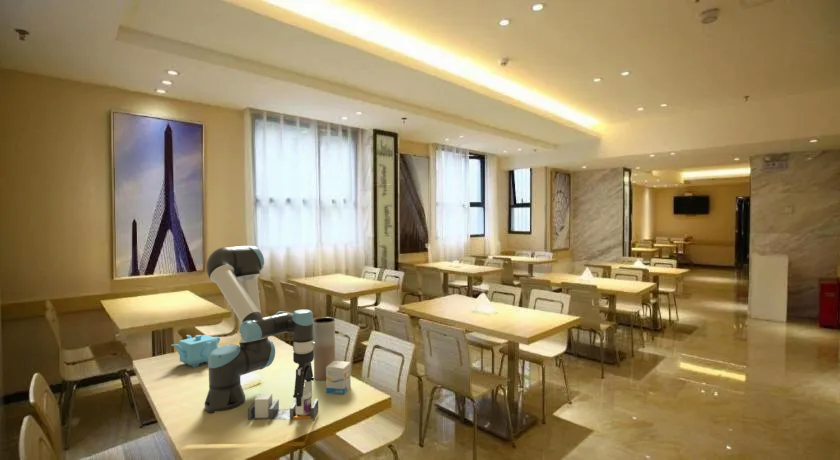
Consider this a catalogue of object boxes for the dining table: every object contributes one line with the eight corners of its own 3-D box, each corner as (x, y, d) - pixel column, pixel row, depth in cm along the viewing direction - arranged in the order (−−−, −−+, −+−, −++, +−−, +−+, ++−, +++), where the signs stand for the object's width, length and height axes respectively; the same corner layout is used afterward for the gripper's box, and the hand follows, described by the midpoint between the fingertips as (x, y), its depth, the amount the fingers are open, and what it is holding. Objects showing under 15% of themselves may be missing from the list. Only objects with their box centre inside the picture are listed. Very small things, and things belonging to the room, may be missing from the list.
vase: (323, 372, 208) (322, 316, 207) (339, 375, 203) (338, 318, 202) (309, 379, 199) (308, 321, 198) (326, 382, 194) (325, 323, 193)
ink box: (344, 394, 181) (343, 368, 181) (325, 393, 183) (325, 366, 182) (351, 386, 190) (350, 361, 189) (333, 385, 191) (333, 360, 191)
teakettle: (222, 356, 232) (221, 329, 232) (211, 368, 214) (211, 339, 213) (185, 358, 229) (184, 331, 228) (171, 370, 210) (170, 341, 210)
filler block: (255, 417, 159) (254, 399, 159) (259, 411, 164) (259, 393, 164) (268, 417, 159) (268, 399, 159) (272, 411, 164) (272, 393, 164)
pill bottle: (294, 415, 160) (293, 390, 160) (302, 408, 165) (302, 384, 165) (306, 417, 159) (305, 392, 158) (314, 411, 164) (314, 386, 163)
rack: (247, 422, 157) (247, 409, 157) (255, 412, 165) (255, 399, 165) (313, 421, 158) (313, 408, 158) (318, 411, 166) (318, 398, 166)
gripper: (305, 362, 149) (306, 421, 150) (320, 341, 174) (320, 391, 174) (284, 362, 149) (285, 421, 149) (301, 341, 173) (302, 391, 174)
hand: (304, 405), depth 162 cm, fingers open, 13 cm apart
